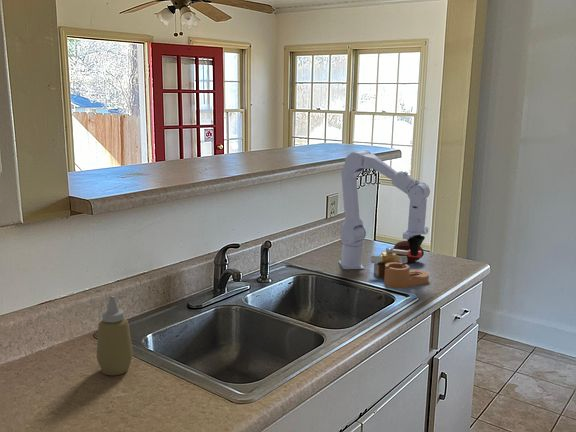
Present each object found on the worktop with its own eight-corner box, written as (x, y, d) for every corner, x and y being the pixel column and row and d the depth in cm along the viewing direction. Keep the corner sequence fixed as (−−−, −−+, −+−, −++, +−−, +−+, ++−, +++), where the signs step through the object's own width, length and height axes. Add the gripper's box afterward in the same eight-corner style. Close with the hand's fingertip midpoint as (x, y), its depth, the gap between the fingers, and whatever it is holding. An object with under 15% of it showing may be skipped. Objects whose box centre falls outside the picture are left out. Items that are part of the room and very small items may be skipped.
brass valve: (368, 272, 203) (369, 251, 201) (402, 272, 204) (403, 251, 203) (372, 278, 197) (374, 256, 195) (407, 277, 199) (409, 256, 197)
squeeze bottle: (113, 382, 122) (110, 306, 118) (89, 372, 126) (85, 298, 122) (141, 368, 129) (138, 295, 125) (117, 358, 133) (114, 288, 129)
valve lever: (385, 253, 198) (385, 248, 198) (386, 252, 200) (386, 247, 200) (420, 257, 195) (421, 252, 194) (421, 256, 197) (421, 250, 196)
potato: (386, 259, 221) (387, 239, 219) (406, 255, 227) (408, 236, 225) (407, 267, 211) (408, 246, 209) (427, 263, 217) (429, 242, 215)
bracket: (395, 290, 186) (396, 271, 184) (379, 283, 193) (380, 264, 191) (433, 282, 195) (434, 263, 194) (416, 275, 202) (417, 257, 201)
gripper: (416, 223, 184) (413, 262, 186) (437, 217, 194) (434, 253, 197) (398, 219, 188) (395, 257, 191) (419, 213, 199) (416, 250, 202)
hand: (414, 255), depth 194 cm, fingers closed, pressing on valve lever
